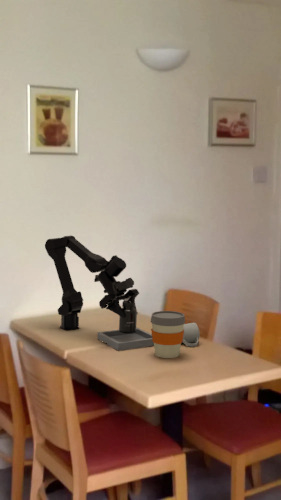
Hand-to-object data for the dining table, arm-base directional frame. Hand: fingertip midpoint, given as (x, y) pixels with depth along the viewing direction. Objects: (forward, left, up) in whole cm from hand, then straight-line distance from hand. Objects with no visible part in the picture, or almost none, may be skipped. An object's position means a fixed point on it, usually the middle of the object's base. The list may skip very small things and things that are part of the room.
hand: (130, 315), depth 249 cm
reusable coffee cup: (+5, -20, -11) cm, 23 cm away
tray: (0, +1, -11) cm, 11 cm away
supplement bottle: (-1, +1, -7) cm, 7 cm away
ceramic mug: (+20, -11, -11) cm, 25 cm away
